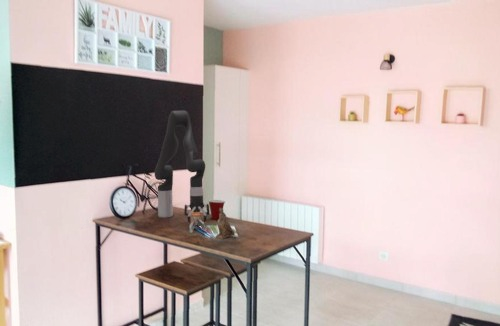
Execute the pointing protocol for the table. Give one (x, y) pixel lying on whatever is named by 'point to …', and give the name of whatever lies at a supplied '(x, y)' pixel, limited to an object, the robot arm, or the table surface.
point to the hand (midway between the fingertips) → (197, 222)
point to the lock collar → (195, 215)
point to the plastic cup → (215, 208)
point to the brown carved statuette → (224, 226)
